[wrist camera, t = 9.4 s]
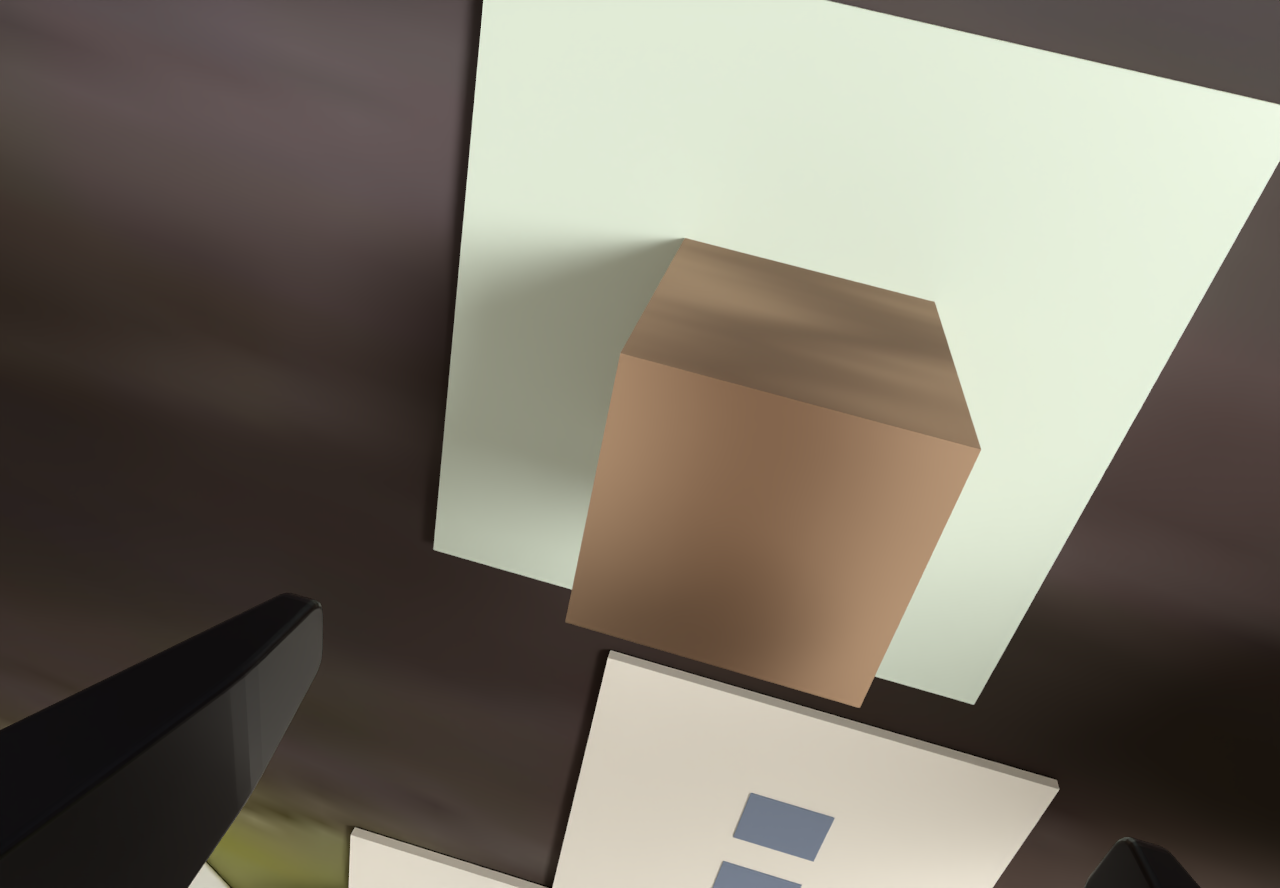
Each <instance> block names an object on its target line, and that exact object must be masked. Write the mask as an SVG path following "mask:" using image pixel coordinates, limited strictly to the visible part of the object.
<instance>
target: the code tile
mask: <svg viewBox="0 0 1280 888" xmlns="http://www.w3.org/2000/svg"><path fill="white" fill-rule="evenodd" d="M1059 790H1060V789H1059V786H1058V782H1057V780H1055V779H1052V778H1048V777H1045V776H1041V775H1038V774H1034V773H1031V772H1028V771H1024V770H1021V769H1017V768H1014V767H1010V766H1007V765H1004V764H1000V763H997V762H993V761H990V760H986V759H983V758H980V757H976V756H973V755H969V754H966V753H962V752H959V751H955V750H952V749H949V748H945V747H942V746H938V745H935V744H931V743H928V742H925V741H921V740H918V739H914V738H911V737H907V736H904V735H900V734H897V733H894V732H890V731H887V730H883V729H880V728H876V727H873V726H870V725H866V724H863V723H859V722H856V721H852V720H849V719H845V718H842V717H839V716H835V715H832V714H828V713H825V712H821V711H818V710H815V709H811V708H808V707H804V706H801V705H797V704H794V703H791V702H787V701H784V700H780V699H777V698H773V697H770V696H766V695H763V694H760V693H756V692H753V691H749V690H746V689H742V688H739V687H736V686H732V685H729V684H725V683H722V682H718V681H715V680H711V679H708V678H705V677H701V676H698V675H694V674H691V673H687V672H684V671H681V670H677V669H674V668H670V667H667V666H663V665H660V664H657V663H653V662H650V661H646V660H643V659H639V658H636V657H632V656H629V655H626V654H622V653H619V652H615V651H612V650H610V653H609V656H608V659H607V663H606V667H605V671H604V676H603V680H602V684H601V688H600V692H599V696H598V700H597V705H596V709H595V713H594V717H593V721H592V725H591V729H590V734H589V738H588V742H587V746H586V750H585V754H584V758H583V763H582V767H581V771H580V775H579V779H578V783H577V787H576V792H575V796H574V800H573V804H572V808H571V812H570V816H569V821H568V825H567V829H566V833H565V837H564V841H563V846H562V850H561V854H560V858H559V862H558V866H557V870H556V875H555V879H554V883H553V887H552V888H993V886H994V885H995V883H996V882H997V880H998V879H999V877H1000V876H1001V874H1002V873H1003V872H1004V870H1005V869H1006V867H1007V866H1008V864H1009V863H1010V861H1011V860H1012V858H1013V857H1014V855H1015V854H1016V853H1017V851H1018V850H1019V848H1020V847H1021V845H1022V844H1023V842H1024V841H1025V839H1026V838H1027V836H1028V835H1029V834H1030V832H1031V831H1032V829H1033V828H1034V826H1035V825H1036V823H1037V822H1038V820H1039V819H1040V817H1041V816H1042V814H1043V813H1044V812H1045V810H1046V809H1047V807H1048V806H1049V804H1050V803H1051V801H1052V800H1053V798H1054V797H1055V795H1056V794H1057V793H1058V791H1059Z"/></svg>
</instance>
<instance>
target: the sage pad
mask: <svg viewBox="0 0 1280 888" xmlns="http://www.w3.org/2000/svg"><path fill="white" fill-rule="evenodd" d="M1279 161H1280V104H1276V103H1272V102H1267V101H1263V100H1259V99H1254V98H1250V97H1246V96H1241V95H1237V94H1233V93H1228V92H1224V91H1220V90H1215V89H1211V88H1207V87H1202V86H1198V85H1194V84H1189V83H1185V82H1181V81H1176V80H1172V79H1168V78H1163V77H1159V76H1154V75H1150V74H1146V73H1141V72H1137V71H1133V70H1128V69H1124V68H1120V67H1115V66H1111V65H1107V64H1102V63H1098V62H1094V61H1089V60H1085V59H1081V58H1076V57H1072V56H1068V55H1063V54H1059V53H1055V52H1050V51H1046V50H1041V49H1037V48H1033V47H1028V46H1024V45H1020V44H1015V43H1011V42H1007V41H1002V40H998V39H994V38H989V37H985V36H981V35H976V34H972V33H968V32H963V31H959V30H955V29H950V28H946V27H942V26H937V25H933V24H929V23H924V22H920V21H915V20H911V19H907V18H902V17H898V16H894V15H889V14H885V13H881V12H876V11H872V10H868V9H863V8H859V7H855V6H850V5H846V4H842V3H837V2H833V1H829V0H483V10H482V21H481V32H480V43H479V54H478V64H477V75H476V86H475V97H474V108H473V119H472V130H471V141H470V152H469V163H468V174H467V185H466V196H465V207H464V218H463V229H462V240H461V251H460V262H459V273H458V284H457V295H456V306H455V317H454V328H453V339H452V350H451V361H450V372H449V383H448V394H447V405H446V416H445V427H444V438H443V449H442V460H441V471H440V482H439V493H438V504H437V515H436V526H435V537H434V548H433V550H436V551H439V552H443V553H446V554H450V555H453V556H457V557H460V558H464V559H467V560H471V561H474V562H478V563H481V564H485V565H488V566H491V567H495V568H498V569H502V570H505V571H509V572H512V573H516V574H519V575H523V576H526V577H530V578H533V579H537V580H540V581H544V582H547V583H551V584H554V585H558V586H561V587H565V588H568V589H572V587H573V582H574V577H575V572H576V567H577V562H578V557H579V553H580V548H581V543H582V538H583V533H584V528H585V523H586V518H587V513H588V509H589V504H590V499H591V494H592V489H593V484H594V479H595V474H596V469H597V465H598V460H599V455H600V450H601V445H602V440H603V435H604V430H605V425H606V421H607V416H608V411H609V406H610V401H611V396H612V391H613V386H614V381H615V376H616V372H617V367H618V362H619V357H620V353H621V351H622V349H623V347H624V346H625V344H626V342H627V340H628V338H629V337H630V335H631V333H632V331H633V329H634V328H635V326H636V324H637V322H638V321H639V319H640V317H641V315H642V313H643V312H644V310H645V308H646V306H647V304H648V303H649V301H650V299H651V297H652V296H653V294H654V292H655V290H656V288H657V287H658V285H659V283H660V281H661V279H662V278H663V276H664V274H665V272H666V271H667V269H668V267H669V265H670V263H671V262H672V260H673V258H674V256H675V254H676V253H677V251H678V249H679V247H680V245H681V244H682V242H683V240H684V238H687V239H691V240H695V241H699V242H703V243H707V244H711V245H715V246H719V247H723V248H726V249H730V250H734V251H738V252H742V253H746V254H750V255H754V256H758V257H762V258H765V259H769V260H773V261H777V262H781V263H785V264H789V265H793V266H797V267H801V268H804V269H808V270H812V271H816V272H820V273H824V274H828V275H832V276H836V277H840V278H843V279H847V280H851V281H855V282H859V283H863V284H867V285H871V286H875V287H879V288H883V289H886V290H890V291H894V292H898V293H902V294H906V295H910V296H914V297H918V298H922V299H925V300H929V301H933V302H935V304H936V308H937V311H938V314H939V317H940V320H941V323H942V327H943V330H944V333H945V336H946V339H947V343H948V346H949V349H950V352H951V355H952V358H953V362H954V365H955V368H956V371H957V374H958V377H959V381H960V384H961V387H962V390H963V393H964V397H965V400H966V403H967V406H968V409H969V412H970V416H971V419H972V422H973V425H974V428H975V431H976V435H977V438H978V441H979V444H980V447H981V451H980V453H979V455H978V458H977V460H976V462H975V464H974V466H973V468H972V470H971V473H970V475H969V477H968V479H967V481H966V483H965V485H964V487H963V490H962V492H961V494H960V496H959V498H958V500H957V502H956V504H955V507H954V509H953V511H952V513H951V515H950V517H949V519H948V521H947V524H946V526H945V528H944V530H943V532H942V534H941V536H940V538H939V541H938V543H937V545H936V547H935V549H934V551H933V553H932V555H931V558H930V560H929V562H928V564H927V566H926V568H925V570H924V572H923V575H922V577H921V579H920V581H919V583H918V585H917V587H916V589H915V592H914V594H913V596H912V598H911V600H910V602H909V604H908V606H907V609H906V611H905V613H904V615H903V617H902V619H901V621H900V624H899V626H898V628H897V630H896V632H895V634H894V636H893V638H892V641H891V643H890V645H889V647H888V649H887V651H886V653H885V655H884V658H883V660H882V662H881V664H880V666H879V668H878V670H877V672H876V675H875V677H879V678H882V679H886V680H889V681H893V682H896V683H900V684H903V685H907V686H910V687H914V688H917V689H920V690H924V691H927V692H931V693H934V694H938V695H941V696H945V697H948V698H952V699H955V700H959V701H962V702H966V703H969V704H973V705H974V704H975V702H976V700H977V699H978V697H979V695H980V693H981V691H982V690H983V688H984V686H985V684H986V683H987V681H988V679H989V677H990V675H991V674H992V672H993V670H994V668H995V667H996V665H997V663H998V661H999V659H1000V658H1001V656H1002V654H1003V652H1004V651H1005V649H1006V647H1007V645H1008V643H1009V642H1010V640H1011V638H1012V636H1013V634H1014V633H1015V631H1016V629H1017V627H1018V626H1019V624H1020V622H1021V620H1022V618H1023V617H1024V615H1025V613H1026V611H1027V610H1028V608H1029V606H1030V604H1031V602H1032V601H1033V599H1034V597H1035V595H1036V594H1037V592H1038V590H1039V588H1040V586H1041V585H1042V583H1043V581H1044V579H1045V578H1046V576H1047V574H1048V572H1049V570H1050V569H1051V567H1052V565H1053V563H1054V561H1055V560H1056V558H1057V556H1058V554H1059V553H1060V551H1061V549H1062V547H1063V545H1064V544H1065V542H1066V540H1067V538H1068V537H1069V535H1070V533H1071V531H1072V529H1073V528H1074V526H1075V524H1076V522H1077V521H1078V519H1079V517H1080V515H1081V513H1082V512H1083V510H1084V508H1085V506H1086V505H1087V503H1088V501H1089V499H1090V497H1091V496H1092V494H1093V492H1094V490H1095V488H1096V487H1097V485H1098V483H1099V481H1100V480H1101V478H1102V476H1103V474H1104V472H1105V471H1106V469H1107V467H1108V465H1109V464H1110V462H1111V460H1112V458H1113V456H1114V455H1115V453H1116V451H1117V449H1118V448H1119V446H1120V444H1121V442H1122V440H1123V439H1124V437H1125V435H1126V433H1127V432H1128V430H1129V428H1130V426H1131V424H1132V423H1133V421H1134V419H1135V417H1136V415H1137V414H1138V412H1139V410H1140V408H1141V407H1142V405H1143V403H1144V401H1145V399H1146V398H1147V396H1148V394H1149V392H1150V391H1151V389H1152V387H1153V385H1154V383H1155V382H1156V380H1157V378H1158V376H1159V375H1160V373H1161V371H1162V369H1163V367H1164V366H1165V364H1166V362H1167V360H1168V359H1169V357H1170V355H1171V353H1172V351H1173V350H1174V348H1175V346H1176V344H1177V342H1178V341H1179V339H1180V337H1181V335H1182V334H1183V332H1184V330H1185V328H1186V326H1187V325H1188V323H1189V321H1190V319H1191V318H1192V316H1193V314H1194V312H1195V310H1196V309H1197V307H1198V305H1199V303H1200V302H1201V300H1202V298H1203V296H1204V294H1205V293H1206V291H1207V289H1208V287H1209V286H1210V284H1211V282H1212V280H1213V278H1214V277H1215V275H1216V273H1217V271H1218V269H1219V268H1220V266H1221V264H1222V262H1223V261H1224V259H1225V257H1226V255H1227V253H1228V252H1229V250H1230V248H1231V246H1232V245H1233V243H1234V241H1235V239H1236V237H1237V236H1238V234H1239V232H1240V230H1241V229H1242V227H1243V225H1244V223H1245V221H1246V220H1247V218H1248V216H1249V214H1250V213H1251V211H1252V209H1253V207H1254V205H1255V204H1256V202H1257V200H1258V198H1259V196H1260V195H1261V193H1262V191H1263V189H1264V188H1265V186H1266V184H1267V182H1268V180H1269V179H1270V177H1271V175H1272V173H1273V172H1274V170H1275V168H1276V166H1277V164H1278V163H1279Z"/></svg>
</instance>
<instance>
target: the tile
mask: <svg viewBox="0 0 1280 888" xmlns="http://www.w3.org/2000/svg"><path fill="white" fill-rule="evenodd" d="M349 888H548V887H544V886H541V885H538V884H535V883H532V882H528V881H525V880H522V879H519V878H516V877H512V876H509V875H506V874H503V873H500V872H496V871H493V870H490V869H487V868H484V867H481V866H477V865H474V864H471V863H468V862H465V861H461V860H458V859H455V858H452V857H449V856H445V855H442V854H439V853H436V852H433V851H429V850H426V849H423V848H420V847H417V846H414V845H410V844H407V843H404V842H401V841H398V840H394V839H391V838H388V837H385V836H382V835H378V834H375V833H372V832H369V831H366V830H362V829H359V828H356V827H355V828H354V830H353V831H352V833H351V837H350V864H349Z"/></svg>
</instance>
